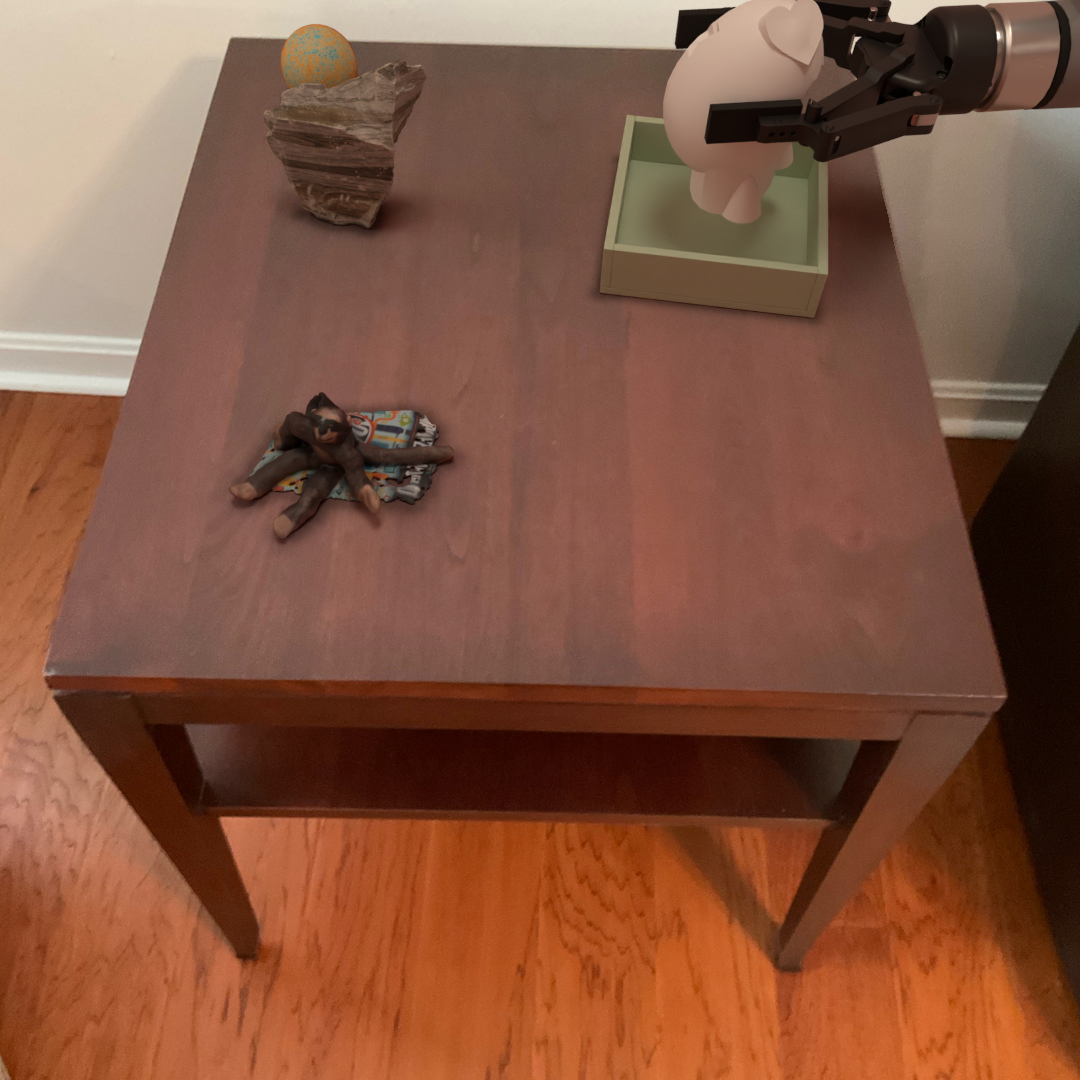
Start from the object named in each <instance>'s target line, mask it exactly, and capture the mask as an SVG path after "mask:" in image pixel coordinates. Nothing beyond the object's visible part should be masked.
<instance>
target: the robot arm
mask: <svg viewBox="0 0 1080 1080" xmlns="http://www.w3.org/2000/svg"><path fill="white" fill-rule="evenodd" d="M796 1H797V0H796ZM813 1H815V2H816V4H817V5H818V6H819V9H820V11H821V13H822V17H823V31H822V38H823V47H824V57H826V58H830V59H833V60H834V61H835V65H836V66H837V67H839V68H841V69H844V70H848V71H850V73H851V74H852V75H853V76H854V77H855V78H856V79H855V80H853V81H851V82H849V83H848V84H846V85H845V86H843V87H841V88H839V89H838V90H836V91H834V92H832V93H830V94H829V95H827V96H825V97H823V98H822V99H820V100H818V101H816V100H814V99H812V98H809V99H807V102H806V106H805V110H804V111H805V113H804V114H801V112H802V108H803V104H802V101H801V99H792V100H774V101H757V102H739V103H721V104H710V107H709V113H708V119H707V125H706V131H705V137H704V138H705V141H706V144H719V143H736V142H753V141H757V142H758V143H764V144H766V143H778V142H779V143H783V142H798V143H799V144H800V145H802V146H805V147H810V148H811V149H812V150H813V151H814V153H813V158H814V159H815V160H816V161H818V162H827V161H828V162H830V161H833V160H836V159H839V158H843V157H845V156H849V155H852V154H854V153H857V152H860V151H863V150H866V149H869V148H872V147H875V146H878V145H881V144H884V143H887V142H890V141H893V140H897V139H899V138H902V137H907V136H909V137H910V136H925V135H930V134H932V133H933V129H934V127H935V125H936V122H937V119H938V117H939V116H953V115H954V116H955V115H956V116H957V115H967V114H970V113H971V112H975V113H992V112H1005V111H1007V112H1008V111H1020V110H1021V111H1022V110H1024V111H1028V110H1029V111H1030V110H1055V109H1057V110H1058V109H1078V108H1080V0H1040V1H1039V0H1038V1H1037V0H1036V1H1016V2H1015V1H1014V2H989V3H988V4H986V5H985V6H984V5H981V4H979V3H978V4H959V5H958V4H957V5H940V6H936V7H934V8H932V9H930V10H929V11H928V12H927V13H926V14H925V15H923V17H922V18H921V19H919V20H918V21H917V22H915V23H913V24H911V23H903V22H898V21H892V19H891V17H890V15H889V13H890V10H891V7H892V1H891V0H813ZM736 7H737V6H725V7H716V8H695V9H694V8H693V9H679V10H678V13H677V15H678V16H677V21H676V22H677V23H676V31H675V36H674V37H675V38H674V47H675V49H676V50H687V49H688V47H689V46H690V45H691V44H692V43H693V42H694V41H695V40H696V39H697V38H698V37H699V36H700V35H701V34H703V33H704V32H706V31H707V30H708V28H709V27H710V25H711V24H712V23H713V22H715V21H716V20H717V19H719V18H720V17H721V16H723V15H724V14H725V13H727V12H728V11H730V10H732V9H734V8H736ZM856 38H858V39H857V40H856V41H855V39H856ZM853 45H854V46H853ZM852 48H853V49H852ZM837 137H838V139H837V140H836V138H837Z"/></svg>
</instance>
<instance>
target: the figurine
mask: <svg viewBox="0 0 1080 1080" xmlns="http://www.w3.org/2000/svg"><path fill="white" fill-rule="evenodd" d="M735 7H736V8H734V9H732V10H730V11H728V12H727V13H725V14H724V15H723V16H721V17H720V18H719V19H717V20H716V21H715V22H713V23H712V24H711V25H710V27H709V28H708V30H707V31H706V32H704V33H703V34H701V35H700V36H699V37H698V38H697V39H696V40H695V41H694V42H693V43H692V44H691V45H690V46H689V47H688V49H685V50H684V52H683V54H682V55H681V57H680V58H679V59H678V60H677V62H676V64H675V66H674V68H673V70H672V72H671V74H670V76H669V78H668V79H667V82H666V87H665V90H664V94H663V95H664V96H663V101H662V119H663V122H664V126H665V130H666V133H667V137H668V139H669V142H670V144H671V146H672V148H673V149H674V151H675V153H676V154H677V155H678V156H679V158H680V159H681V160H682V161H683V162H684V163H685V164H686V165H688V166H689V167H690V168H691V169H692V172H691V179H690V192H691V195H692V199H693V200H694V202H695V203H696V204H697V205H698V206H699V208H701V209H703V210H705V211H707V212H709V213H712V214H719V215H723V217H724V218H726V219H727V220H729V221H732V222H735V223H742V224H745V223H750V222H753V221H755V220H757V219H758V218H759V217H760V215H761V203H760V199H761V198H762V196H763V195H764V194H765V192H766V191H767V190H768V188H769V187H770V184H771V181H772V179H773V176H774V172H775V170H778V169H784V168H787V167H788V166H790V165H791V164H792V162H793V148H792V142H783V143H779V142H778V143H766V144H764V143H758V142H757V141H753V142H736V143H719V144H706V141H705V138H704V137H705V131H706V125H707V119H708V113H709V107H710V104H721V103H739V102H757V101H774V100H792V99H801V101H802V104H803V108H802V112H801V114H804V113H805V111H806V106H807V102H808V96H809V92H810V88H811V86H812V84H813V82H814V81H816V80H817V79H818V77H819V76H820V73H821V71H822V66H824V65H825V56H824V47H823V38H822V31H823V17H822V13H821V11H820V9H819V6H818V5H817V4H816V2H815V1H813V0H797V1H796V0H747V1H745V2H744V3H741V4H739V5H738V6H735Z"/></svg>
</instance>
